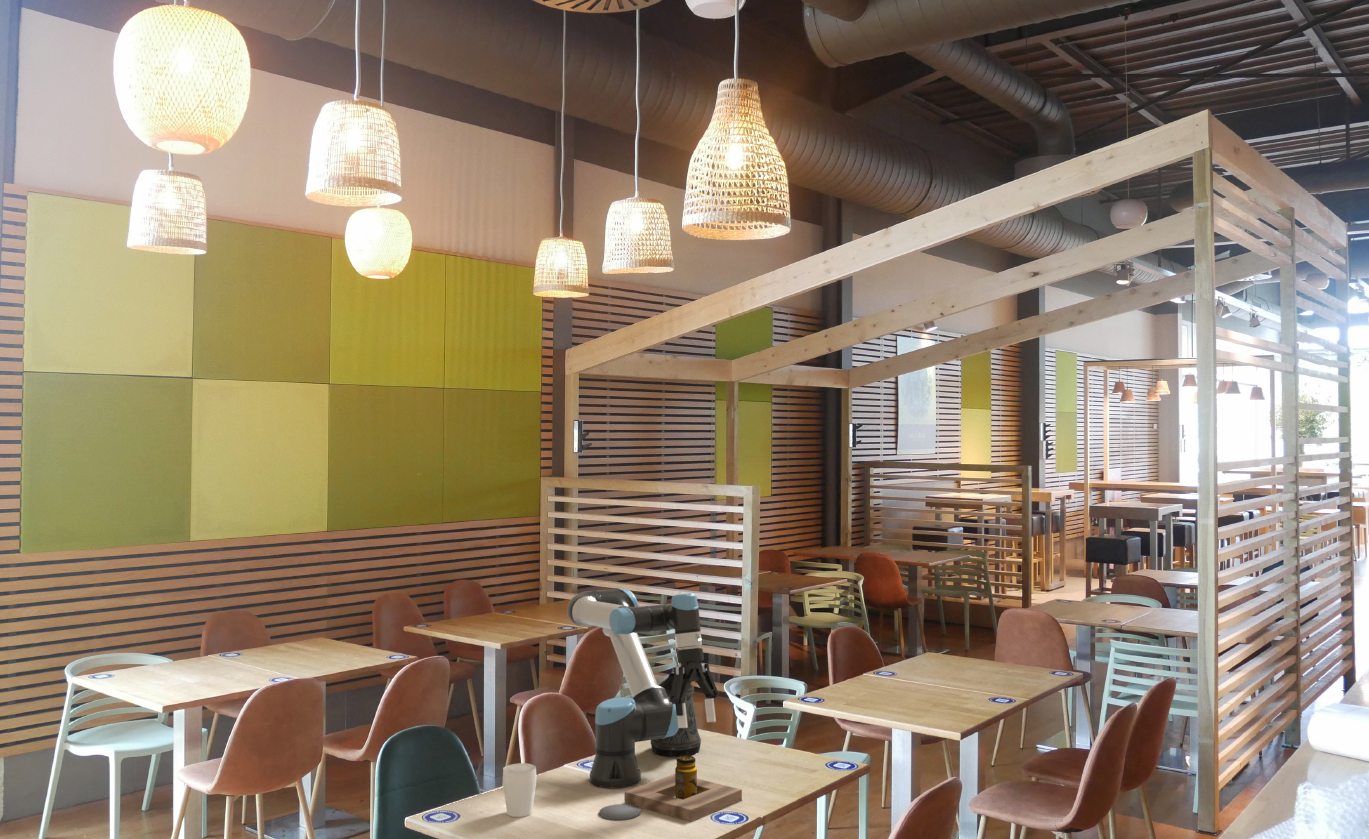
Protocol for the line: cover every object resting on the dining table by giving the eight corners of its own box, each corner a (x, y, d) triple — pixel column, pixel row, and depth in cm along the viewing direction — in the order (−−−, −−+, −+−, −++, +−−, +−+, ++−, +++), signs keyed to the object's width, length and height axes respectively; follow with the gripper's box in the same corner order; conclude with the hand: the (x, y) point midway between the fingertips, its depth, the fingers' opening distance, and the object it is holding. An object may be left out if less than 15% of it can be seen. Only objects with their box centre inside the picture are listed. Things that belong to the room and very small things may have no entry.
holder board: (624, 802, 283) (624, 791, 283) (676, 783, 299) (676, 773, 300) (691, 821, 267) (691, 809, 267) (741, 800, 284) (741, 789, 284)
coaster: (590, 814, 273) (590, 811, 273) (619, 803, 282) (619, 801, 282) (620, 822, 266) (620, 820, 266) (649, 812, 275) (649, 809, 275)
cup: (521, 805, 281) (521, 761, 281) (543, 812, 275) (543, 766, 276) (495, 814, 274) (495, 768, 275) (518, 821, 268) (518, 774, 269)
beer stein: (680, 741, 347) (679, 666, 348) (717, 753, 332) (716, 675, 333) (640, 749, 337) (640, 672, 338) (676, 762, 321) (676, 682, 323)
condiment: (703, 802, 283) (703, 758, 283) (677, 808, 278) (677, 763, 279) (688, 795, 289) (688, 752, 289) (663, 801, 284) (663, 757, 285)
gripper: (673, 649, 281) (681, 729, 277) (724, 644, 301) (733, 718, 296) (652, 652, 286) (659, 730, 281) (704, 646, 305) (712, 720, 301)
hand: (697, 724), depth 289 cm, fingers open, 13 cm apart
